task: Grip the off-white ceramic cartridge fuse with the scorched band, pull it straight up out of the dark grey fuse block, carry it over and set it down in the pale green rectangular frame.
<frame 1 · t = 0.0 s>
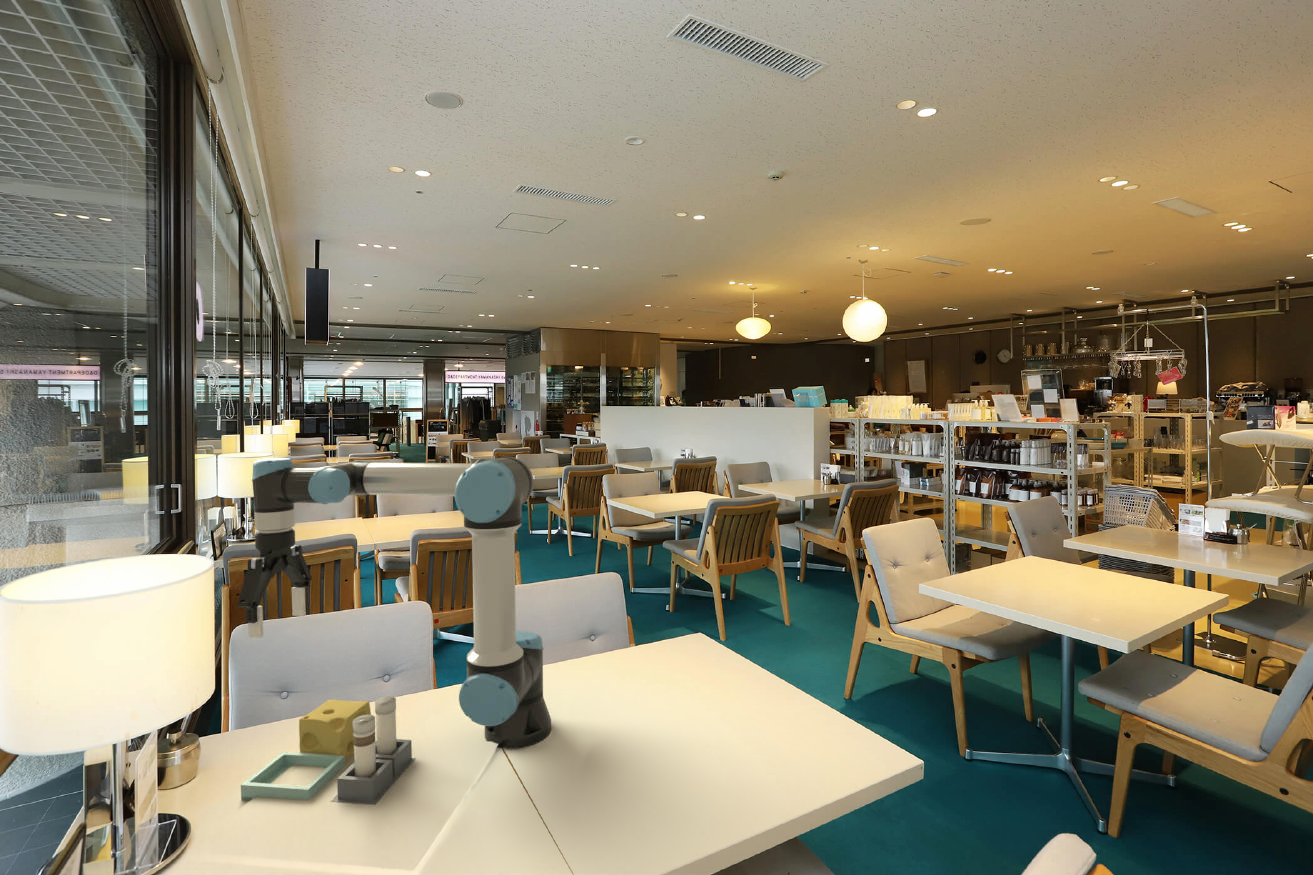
hand: (278, 625, 143), 28 cm above the table, fingers open, 13 cm apart
blown fuse: (365, 788, 128), point 1 cm above the table, touching fuse block
fuse block: (375, 783, 132), on the table
pale green rectangular frame: (295, 783, 132), on the table
cheese: (335, 754, 143), on the table
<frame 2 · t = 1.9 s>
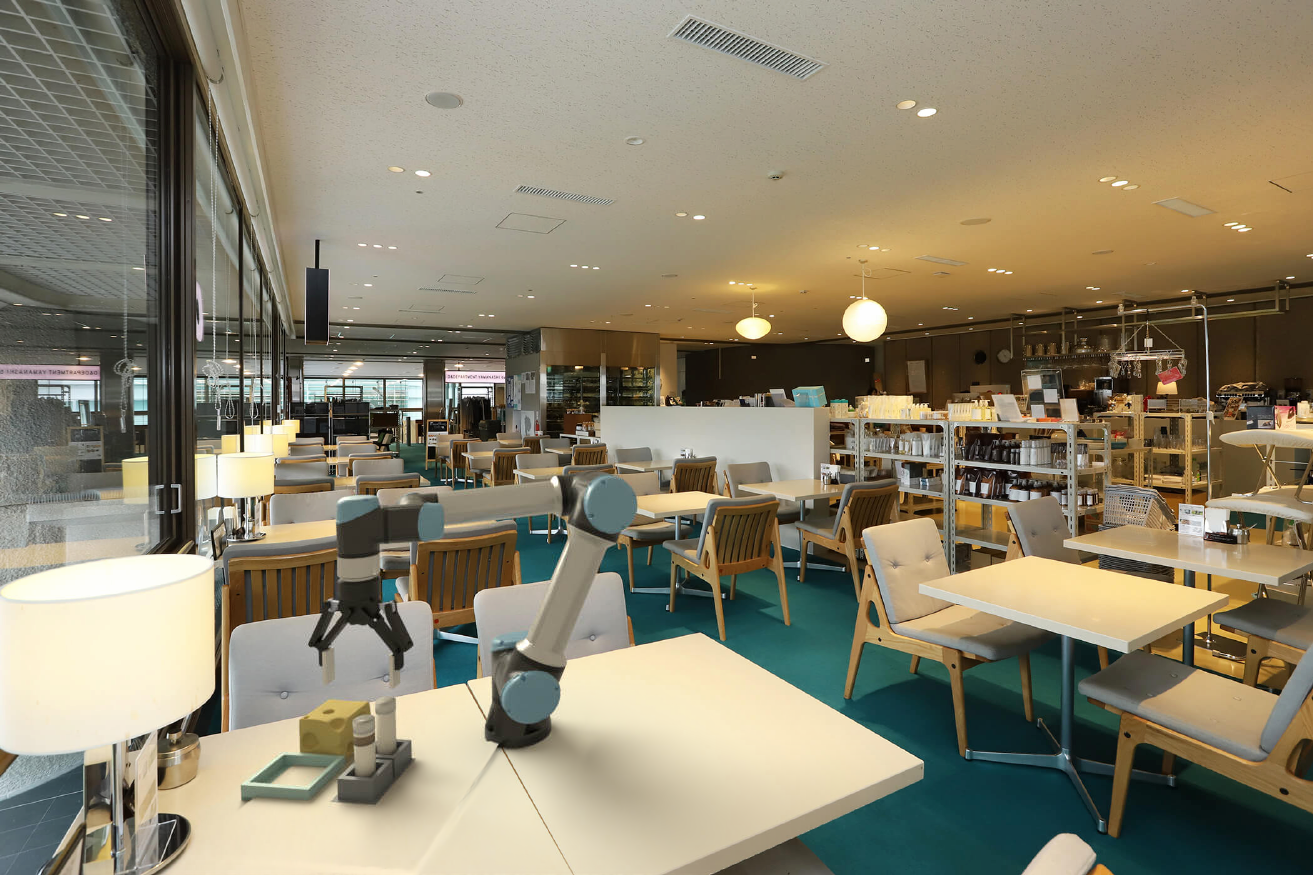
hand: (361, 683, 127), 22 cm above the table, fingers open, 13 cm apart
nothing on the table moved.
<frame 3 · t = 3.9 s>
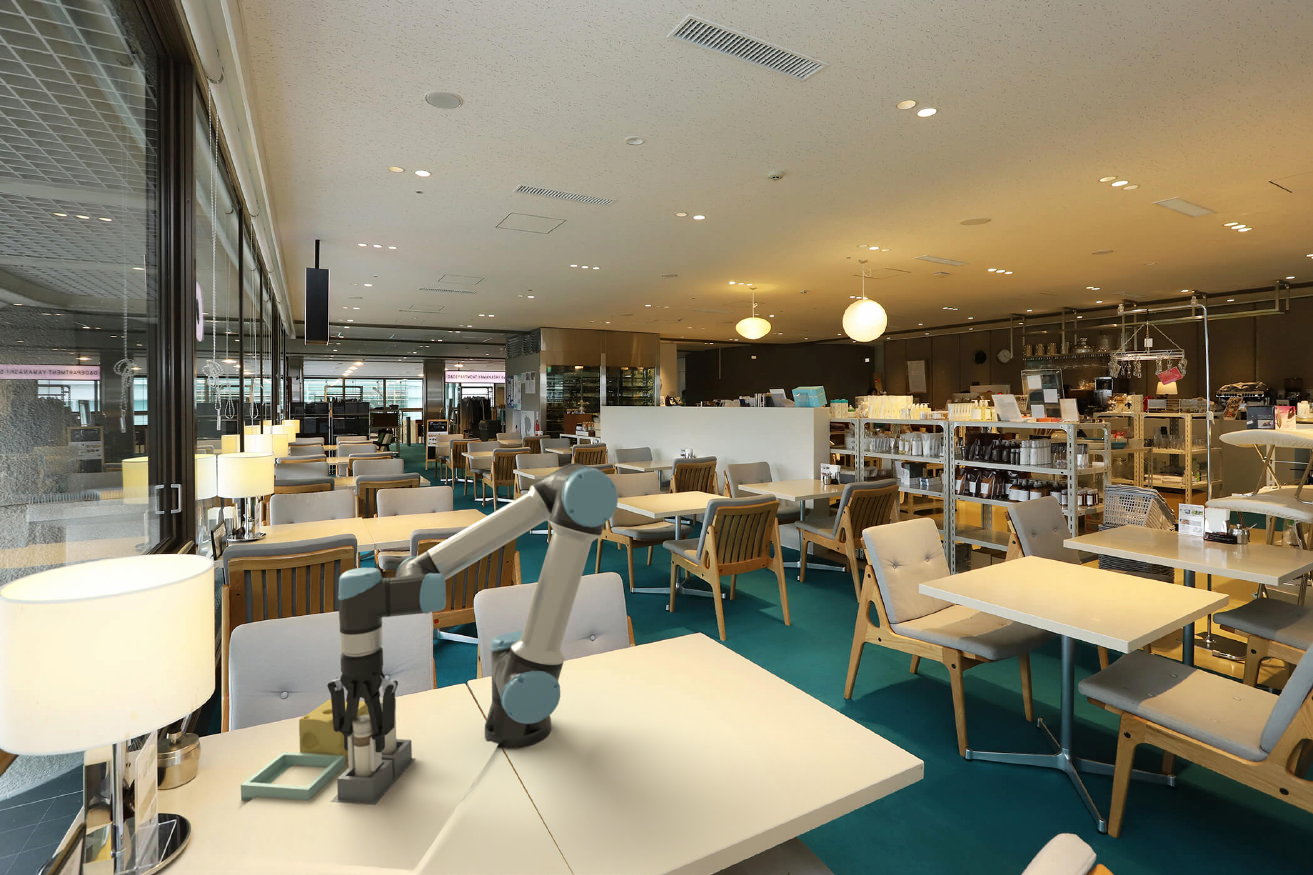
hand: (365, 765, 128), 6 cm above the table, fingers closed on blown fuse, 4 cm apart
blown fuse: (365, 788, 128), point 1 cm above the table, touching fuse block, gripper
everything else where it was.
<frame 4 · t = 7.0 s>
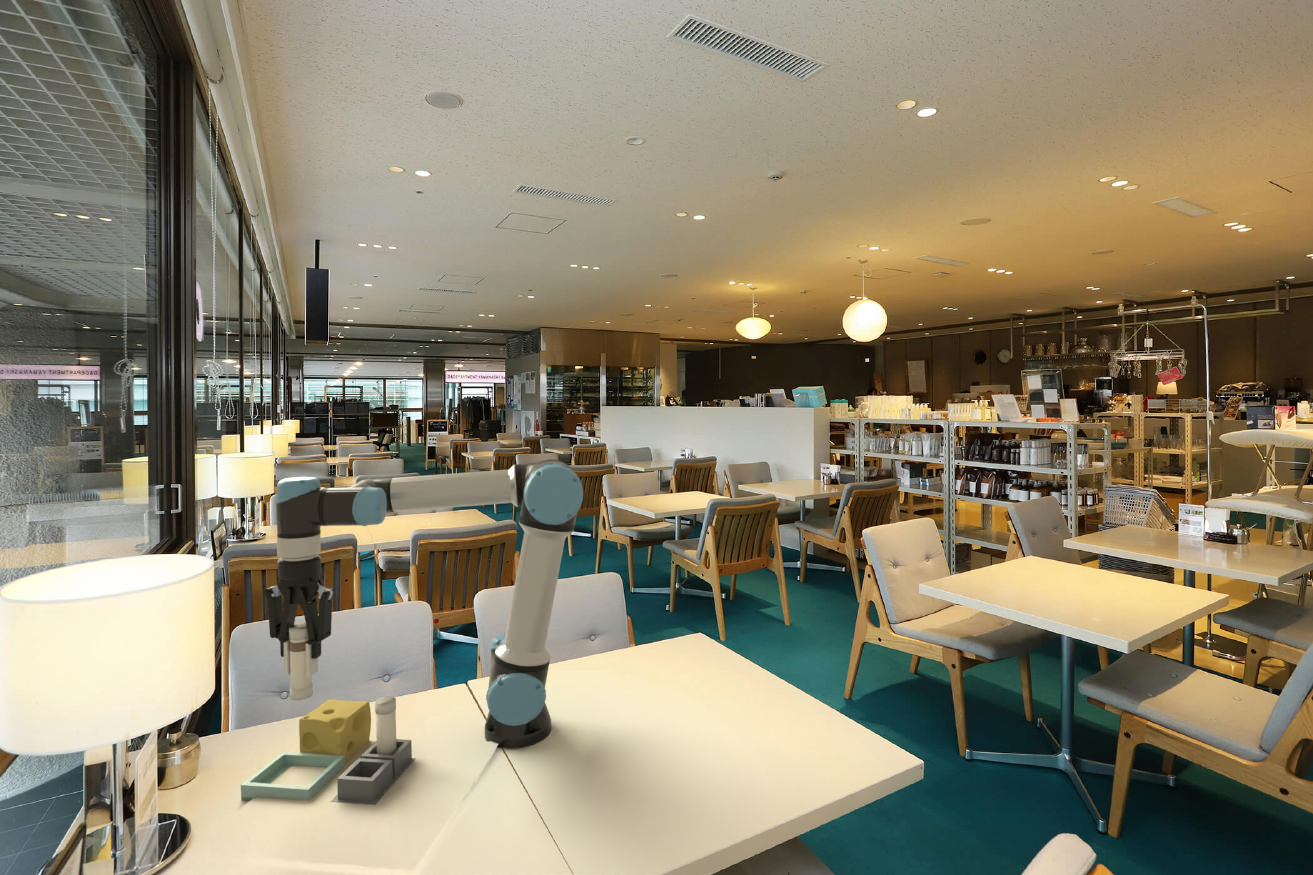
hand: (301, 672, 130), 23 cm above the table, fingers closed on blown fuse, 4 cm apart
blown fuse: (301, 695, 130), point 19 cm above the table, touching gripper
everything else where it was.
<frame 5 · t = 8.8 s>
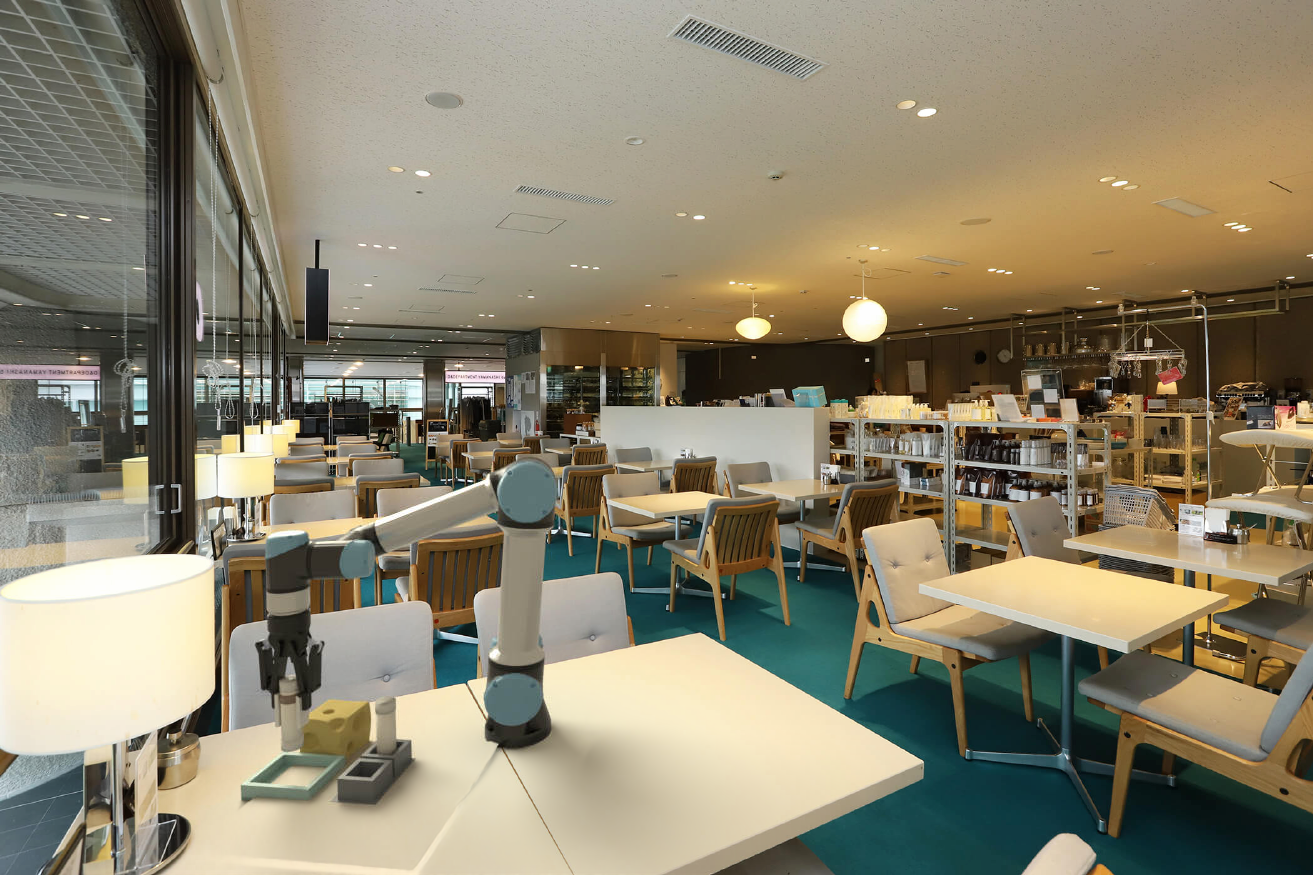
hand: (292, 724, 131), 12 cm above the table, fingers closed on blown fuse, 4 cm apart
blown fuse: (292, 746, 131), point 8 cm above the table, touching gripper
everything else where it was.
when the fingers open (7 cm above the table, at t = 10.4 s): blown fuse drops 1 cm, resting on pale green rectangular frame.
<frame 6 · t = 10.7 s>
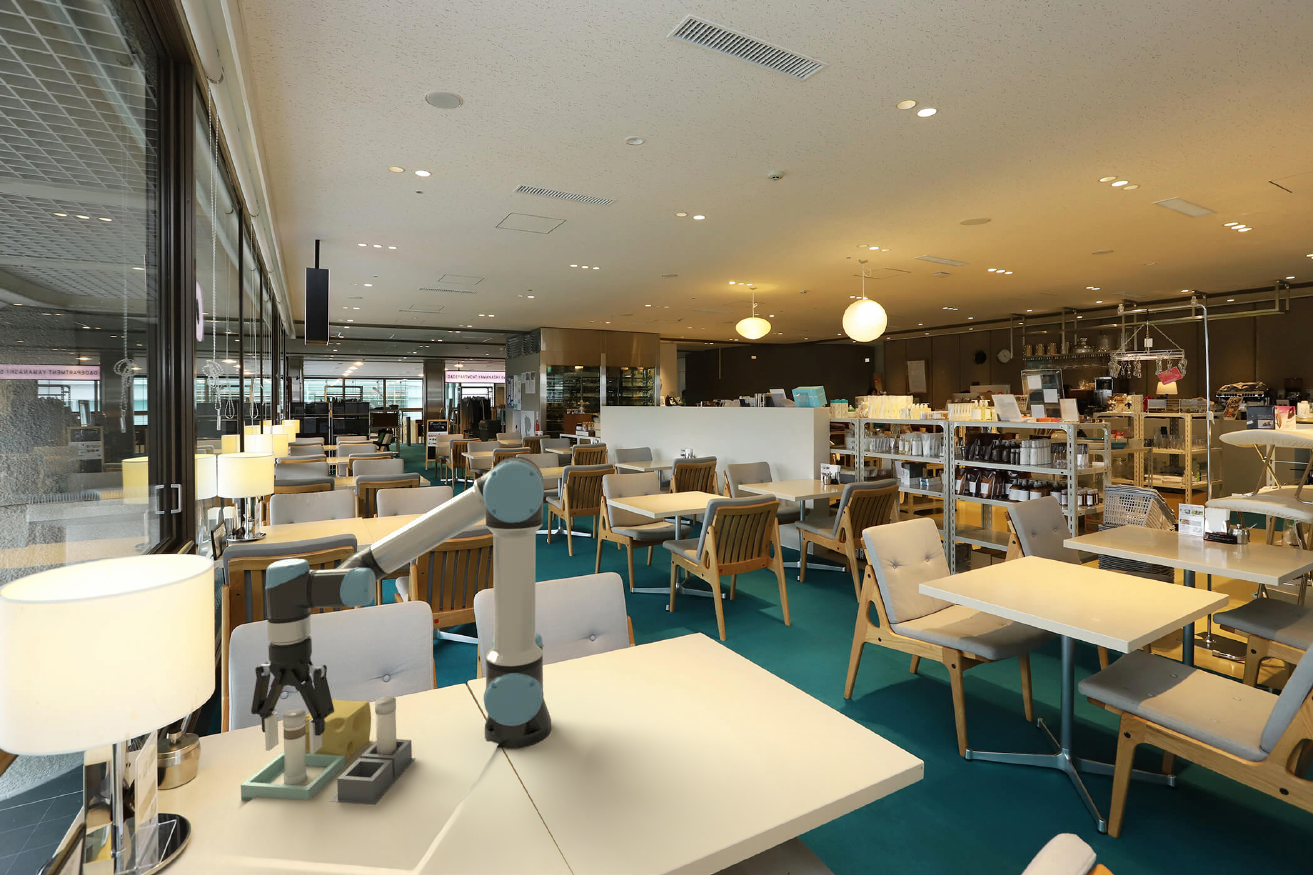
hand: (294, 748, 131), 7 cm above the table, fingers open, 9 cm apart
blown fuse: (295, 781, 132), point 1 cm above the table, touching pale green rectangular frame
everything else where it was.
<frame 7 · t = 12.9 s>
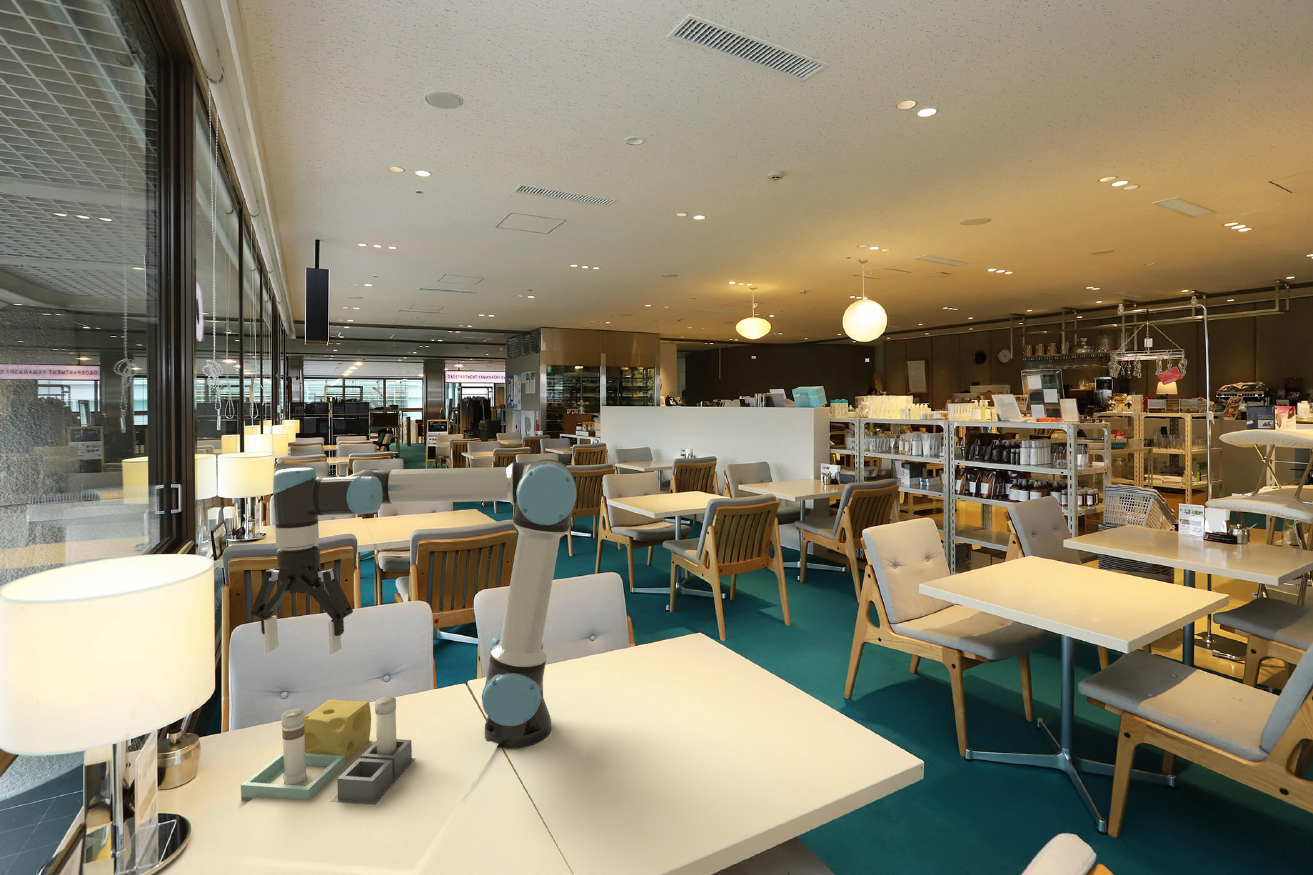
hand: (303, 650, 132), 27 cm above the table, fingers open, 13 cm apart
nothing on the table moved.
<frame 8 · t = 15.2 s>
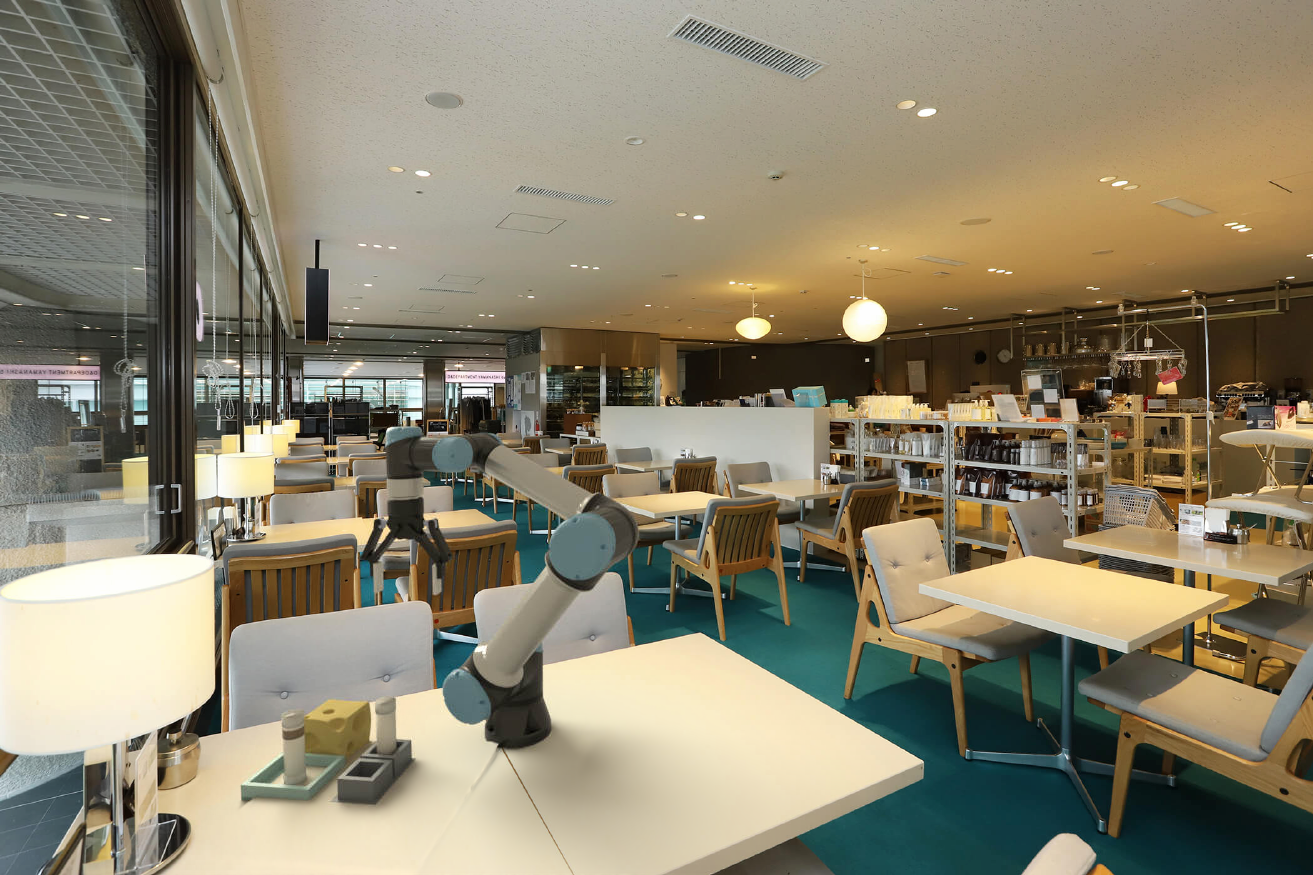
hand: (407, 592, 145), 35 cm above the table, fingers open, 13 cm apart
nothing on the table moved.
at the end: blown fuse inside the target area on the pale green rectangular frame (0.0 cm from its centre), point 0.6 cm above the pale green rectangular frame's base; the gripper is holding nothing; blown fuse moved 16.0 cm from its start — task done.
